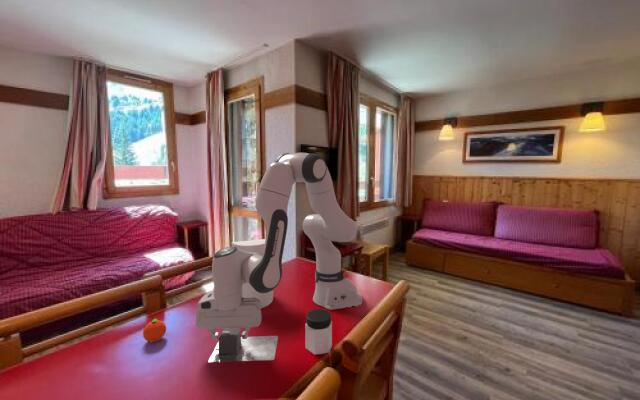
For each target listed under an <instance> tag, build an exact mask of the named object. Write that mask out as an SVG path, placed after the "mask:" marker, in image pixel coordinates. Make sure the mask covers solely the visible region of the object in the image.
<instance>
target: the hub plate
mask: <svg viewBox="0 0 640 400" xmlns="http://www.w3.org/2000/svg"><path fill="white" fill-rule="evenodd" d="M278 340H279V336H278V335H265V336H264V335H262V336H261V335H260V336H248V337H247V339H242V336H241V344H240V346H239V349H238V352H237V354H219V340H217V341H218V342H217V343H216V345H215V347H214V348H213V349H214V350H213V352H211V353H212V354H211V355H210V357H209V359H208V362H207V363H221V362H222V363H224V362H227V363H228V362H250V361H251V362H253V361H273V360H274V361H275V357H276V350H277V344H278Z"/></svg>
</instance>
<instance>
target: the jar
mask: <svg viewBox="0 0 640 400" xmlns="http://www.w3.org/2000/svg"><path fill="white" fill-rule="evenodd" d="M305 319H306V320H305V321H306V322H305V325H304V326H305V327H304V329H305V333H304V335H305V337H304V338H305V339H304V340H305V343H304V344H305V347H304V348H305V349H306V350H308V351H309V352H310V353H312V354H313V355H315V356H316V355H321V354H322V355H323V354H327V353H328V354H329V353H330V352H331V350H332V346H333V342H332V341H333V336H332V335H333V321H332V315H331V312H330V311H328V310H327V309H324V308H314V309H311V310H309V311H308V312H307V313H306V316H305Z"/></svg>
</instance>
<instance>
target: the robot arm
mask: <svg viewBox="0 0 640 400" xmlns="http://www.w3.org/2000/svg"><path fill="white" fill-rule="evenodd" d="M295 183H304V184H305V189H306V193H307V196H308V201H309V204H310V208H311V210H313V212H314V213H313V214H308V215H307V216H305V218H304V219H303V221H302V230H303V232H304V235H306V236H307V237H308V238H309V239H310V241H311V243H312V245H313V247H314V250H315V259H316V260H315V261H316V264H315V265H316V268H315V272H314V278H315V279H314V281H315V289H314V293H313V297H312V301H313V302H314V303H315V304H316V305H318V306H321V307H324V308H325V309H326V310H338V309H344V308H345V309H347V308H353V307H352V306H355V307H359V306H358V305H361V304H362V305H363V303H364V301H363V296H362V294H361V293H360V292H359V291H358V288H357V286H356V284H355V283H354V282H353V281H352V280H351V279H349V278H348V273H347V272H346V270H344V268H341V267H342V263H341V262H342V254H341V251H340V250H339V248H337V247H336V246H335V245H334V244H333V242H338V243H347V242H348V243H349V242H351V241H353V239H354V238H355V237H356V234H357V231H358V229H357V224H356V222H355V221H354V219H352V218H350V217H349V216H348V215H347V214H346V213H345V211H343V210H342V208H341V207H340V205H339V203H338V200H337V197H336V193H335V189H334V184H333V179H332V176H331V173H330V171H329V168H328V166H327V163H326V161H325V159H324V157H323V156H322V155H319V154H317V153H307V152H293V153H292V152H291V153H289V152H287V153H286V152H285V153H282V154H279V156H277V158H276V159H275V160H274V162H272V163H270V164H269V165H268V166H267V169H266V170H265V173H264V175H263V177H262V178H261V182H260V184H259V186H258V191H257V194H256V199H255V210H256V211H257V213H258V215H259V217H261V219H262V221H263V222H264V225H265V227H266V234H265V235H266V236H265V239H266V240H265V245H264V250H263V255H260V254H258V253H255V252H246V251H242V250H240V249H238V248H236V247H232V246H226V247H224V248H221V249H219V250H217V251H216V252H215V253H214V255H213V257H212V261H211V262H212V263H211V264H212V265H211V279H212V282H213V289H212V291H211V292H207V293H205V294H203V296H202V297H200V299H199V301H198V302H197V308H198V309H197V311H196V314H195V327H197V328H198V329H199V330H204V329H207V330H208V333H209V335H211V337H212V341H219V337H220V335H219V334H220V333H219V332H218V331H216V329H224V328H244V330H245V331H243V330H242V332H241V337H242V339H247V337H249V335H248V334H249V331H250V329H251V328H257V327H259V326H260V325H261V322H262V319H263V318H262V317H263V316H262V311H261V309H262V308H261V301H260V300H259V299H257V298H243V293H242V285H243V284H244V283H248V284H250V285H251V286H252V287H253V288H254V289H255V290H256V291H257V292H259V293H268V292H270V291H272V290H273V291H274V290H275V289H276V288H277V287H278V285H279V284H280V283H281V280H282V279H283V278H282V276H283V256H284V255H283V254H284V248H285V243H286V239H287V231H288V226H289V225H288V223H289V219H288V205H289V203H290V202H289V201H290V197H291V193H292V189H293V185H294V184H295ZM256 300H257V301H256ZM362 302H363V303H362ZM362 305H361V306H362ZM346 307H347V308H346Z"/></svg>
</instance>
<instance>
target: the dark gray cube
mask: <svg viewBox="0 0 640 400" xmlns="http://www.w3.org/2000/svg"><path fill="white" fill-rule="evenodd" d="M241 337H242V327H238V328H222V331H221V333H220V335H219V338H218V341H219V354H237V352H238V349H239V346H240V344H241Z"/></svg>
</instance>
